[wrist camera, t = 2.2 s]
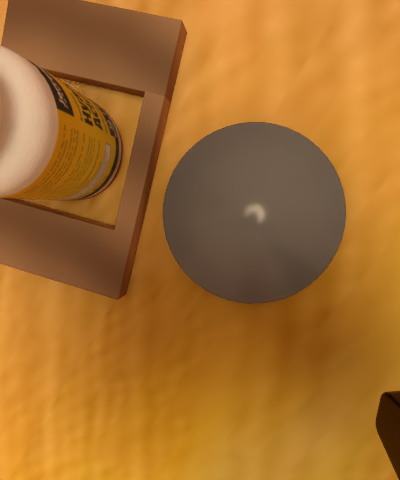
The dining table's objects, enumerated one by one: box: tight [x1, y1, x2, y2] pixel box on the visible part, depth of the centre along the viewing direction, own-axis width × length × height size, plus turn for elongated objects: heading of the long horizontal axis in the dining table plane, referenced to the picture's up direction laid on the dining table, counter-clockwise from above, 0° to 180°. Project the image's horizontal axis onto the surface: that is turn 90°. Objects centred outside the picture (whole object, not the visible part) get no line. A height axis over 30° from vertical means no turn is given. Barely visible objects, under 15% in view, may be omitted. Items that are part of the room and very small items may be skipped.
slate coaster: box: [163, 122, 346, 303], centre depth 18 cm, size 9×9×1 cm
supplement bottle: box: [0, 46, 122, 200], centre depth 15 cm, size 5×5×10 cm
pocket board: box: [0, 0, 187, 300], centre depth 19 cm, size 14×9×1 cm, turn 166°
